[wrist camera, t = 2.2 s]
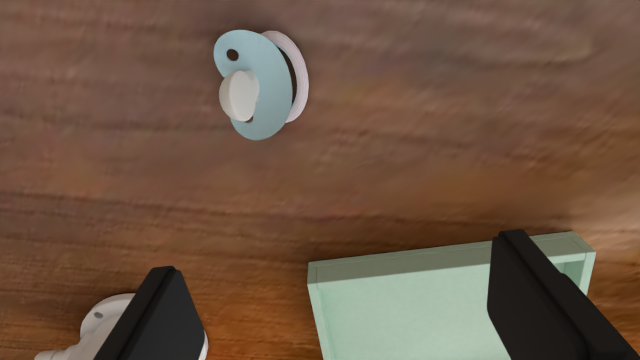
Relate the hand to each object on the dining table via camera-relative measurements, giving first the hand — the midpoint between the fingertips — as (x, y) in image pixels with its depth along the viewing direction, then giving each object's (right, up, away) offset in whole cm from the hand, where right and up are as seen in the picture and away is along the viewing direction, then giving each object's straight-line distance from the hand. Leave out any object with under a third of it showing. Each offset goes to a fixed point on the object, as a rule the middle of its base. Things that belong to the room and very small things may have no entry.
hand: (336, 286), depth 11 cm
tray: (+11, -11, +26) cm, 30 cm away
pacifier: (-4, +11, +16) cm, 19 cm away
